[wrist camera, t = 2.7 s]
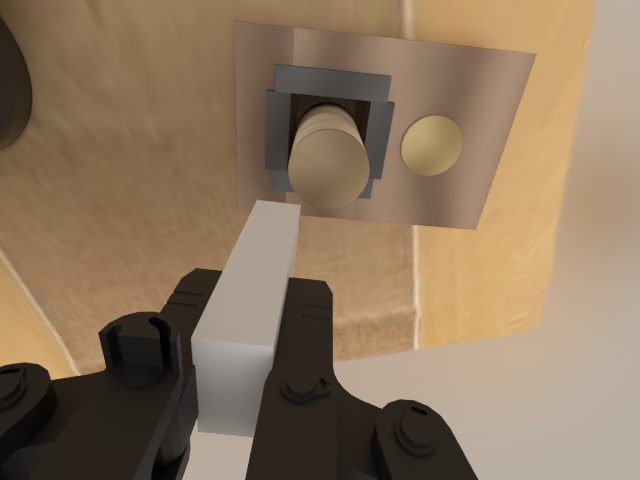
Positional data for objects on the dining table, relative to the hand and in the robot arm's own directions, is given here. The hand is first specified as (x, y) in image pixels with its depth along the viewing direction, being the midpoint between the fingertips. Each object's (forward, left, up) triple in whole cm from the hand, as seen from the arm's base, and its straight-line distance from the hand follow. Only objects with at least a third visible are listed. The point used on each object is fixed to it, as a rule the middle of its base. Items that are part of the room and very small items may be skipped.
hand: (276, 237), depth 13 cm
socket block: (+5, +1, -21) cm, 22 cm away
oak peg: (+2, +1, -14) cm, 14 cm away
